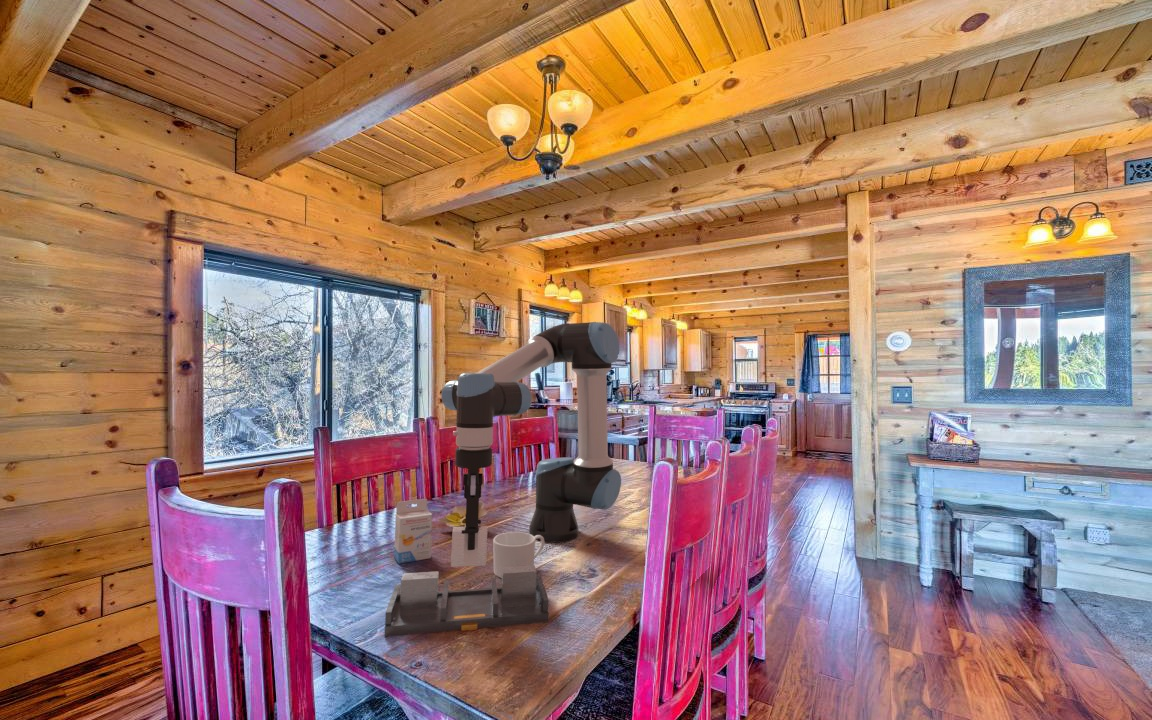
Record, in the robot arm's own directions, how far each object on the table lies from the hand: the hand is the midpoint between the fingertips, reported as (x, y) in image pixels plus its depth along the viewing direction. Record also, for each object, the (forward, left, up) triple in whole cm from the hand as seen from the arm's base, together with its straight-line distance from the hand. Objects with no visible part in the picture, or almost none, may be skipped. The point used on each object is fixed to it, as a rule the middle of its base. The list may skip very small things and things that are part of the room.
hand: (470, 560), depth 99 cm
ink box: (+15, -32, -11) cm, 37 cm away
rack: (0, 0, -11) cm, 11 cm away
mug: (-12, -20, -11) cm, 25 cm away
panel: (0, 0, -1) cm, 1 cm away
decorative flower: (+3, -52, -11) cm, 53 cm away
